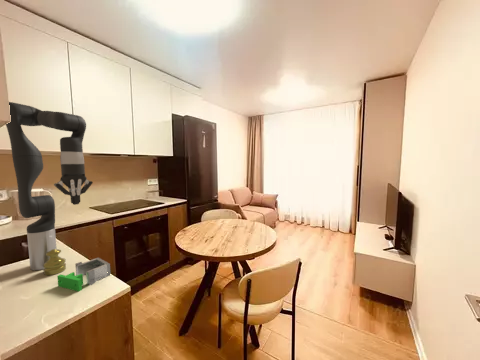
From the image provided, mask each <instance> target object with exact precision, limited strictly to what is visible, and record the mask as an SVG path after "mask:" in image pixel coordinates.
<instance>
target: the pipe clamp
mask: <svg viewBox="0 0 480 360" xmlns="http://www.w3.org/2000/svg"><path fill="white" fill-rule="evenodd" d="M57 286H58V287H59V288H63V289H67V290H72V291H76V292H81V291H82V290H83V286H84V275H83V274H80V275H76V272H70V273H68V274H66V275H65V274H60V273H59V275H57Z"/></svg>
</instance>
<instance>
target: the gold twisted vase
mask: <svg viewBox="0 0 480 360" xmlns="http://www.w3.org/2000/svg"><path fill="white" fill-rule="evenodd" d="M60 253H62V250H61V249H60V248H59V249H58V248H57V249H52V250H51V251H49V252H47V253H46V255H47V256H49V257H50V258H49V260H47V262H45V263H44V264H43V267H44V269H42V270H43V275H44V276H53V275H57V274H60V273H62V272H64V271H65V270H66V269H67V264H66V258H65V257H62V256H59V254H60Z"/></svg>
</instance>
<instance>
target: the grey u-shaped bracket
mask: <svg viewBox="0 0 480 360" xmlns="http://www.w3.org/2000/svg"><path fill="white" fill-rule="evenodd" d="M74 265H75V276H76V275H80V274H83V276H85V275H86V276H85V277H86V284H87V285H89V286H91V285H94V284H96V282H97V281H99V280H102V279H105V278H107V277H109V276H111V275H110V274H112V273H111V263H109V262H108V261H106V260H104V259H102V258H101V257H96V258H92V259H90V260H87V261H84V262H83V261H79V262H77V263H75V264H74ZM107 272H108V273H107Z"/></svg>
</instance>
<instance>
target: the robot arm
mask: <svg viewBox="0 0 480 360" xmlns="http://www.w3.org/2000/svg"><path fill="white" fill-rule="evenodd" d="M8 102H9V105H10V115H11V122H10V123H8V124H6V123H5V126H6V129H7V132H8V137H9V141H10V148H11V149H10V150H11V156H12V162H13V168H14V172H15V177H16V185H17V195H18V197H17V199H18V210H19V213H20V215H21V217H23V218H24V219H30V218H37V217H40V218H39V219H37V220H36V221H33V222H32V223H30V224H28V225H27V226H26V236H27V247H28V256H29V266H30V267H29V268H30V270H31V271H40V270H41V271H42V270H43V269H44V267H43V264H44V263H45V262H47V260H49V258H50V257H49V256H47V255H46V253H47V252H49V251H51V250H52V249H58V248H57V238H56V237H57V236H56V227H55V226H56V225H55V224H56V204H55V199H54V198H53V196H51V195H49V194H45V195H35V196H34V195H33V196H32V190H33V186H34V183H35V182H36V181H37V179H38V178H39V176H40V175H41V173H42V172H43V169H44V162H43V161H44V160H43V155H42V152H41V151H40V149H39V148H38V147H37V146H36V145H35V144H34V143H33V142H32V141H31V140H30V139H29V138H28V137H27V136H26V134H25V132H24V131H23V128H22V126H26V127H40V126H42V127H46V128H49V129H54V130H59V131H63V132H71V135H70V136H64V137H61V138H60V139H59V145H60V146H59V148H60V156H59V157H60V159H59V160H60V172H61V177H60V180H59V181H57V182H55V183H53V186H54V187H55V188H56V189H57V190H59V191H60V192H62V193H63V195H66V196H70V203H71V204H72V205H75V206H76V205H80V204H81V195H82V194H85V193H86V192H87V191H88V190H89V188H90V187H91V186H92V185H93V181H91V180H89V179H87V176H86V171H85V157H84V151H83V140H84V137H85V133H86V131H87V130H86V129H87V123H86V120H85V118H84V117H82V116H80V115H77V114H73V113H72V114H71V113H68V112H67V113H66V112H61V111H52V110H41V109H39V108H37V107H34V106H33V105H26V104H22V103H17V102H13V101H12V102H11V101H8ZM64 186H66V188H65V187H64ZM67 189H68V190H67Z"/></svg>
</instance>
